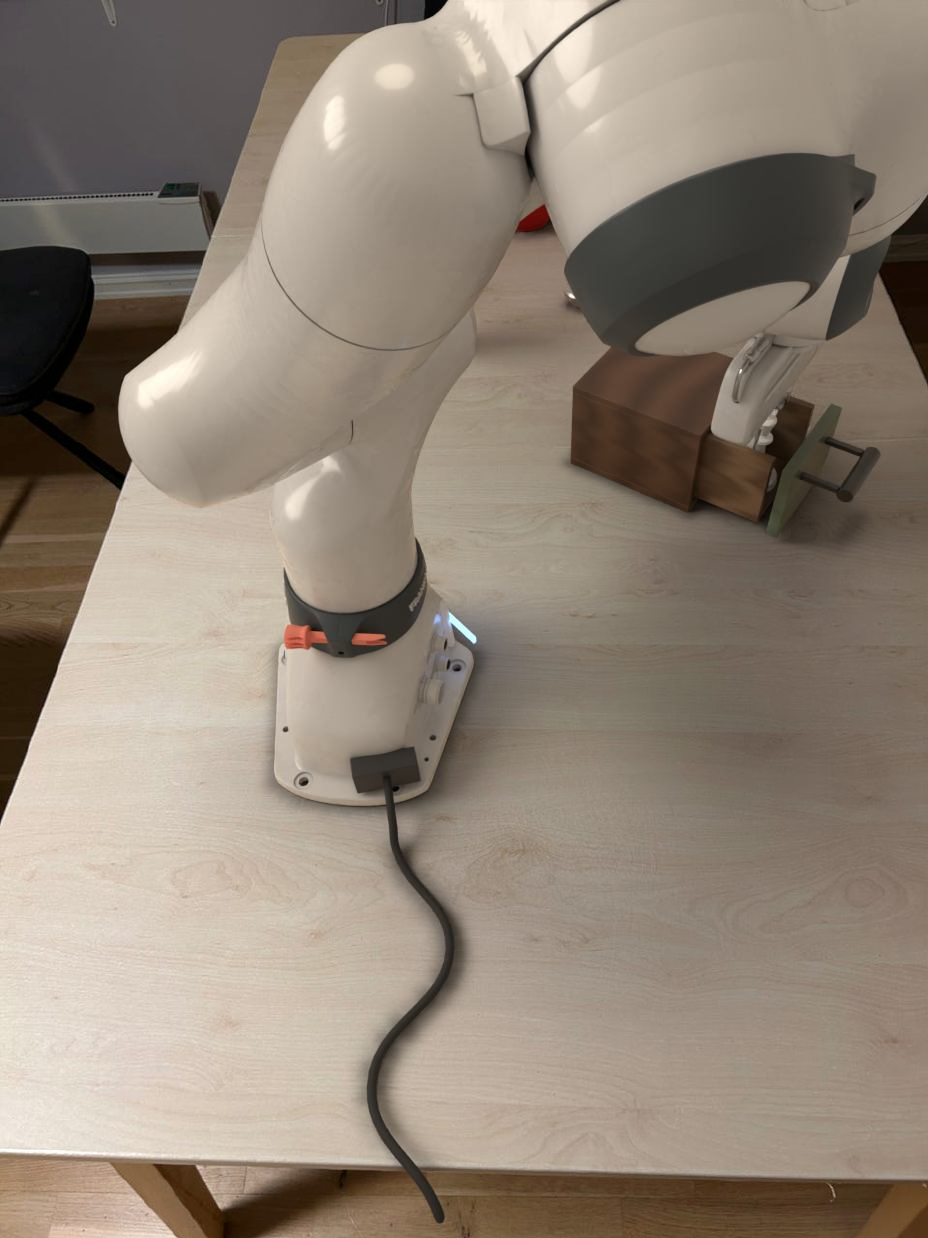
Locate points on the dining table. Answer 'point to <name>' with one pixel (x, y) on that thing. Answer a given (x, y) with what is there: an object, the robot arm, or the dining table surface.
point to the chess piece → (767, 439)
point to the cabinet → (647, 420)
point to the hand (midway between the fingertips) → (761, 424)
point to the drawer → (778, 467)
